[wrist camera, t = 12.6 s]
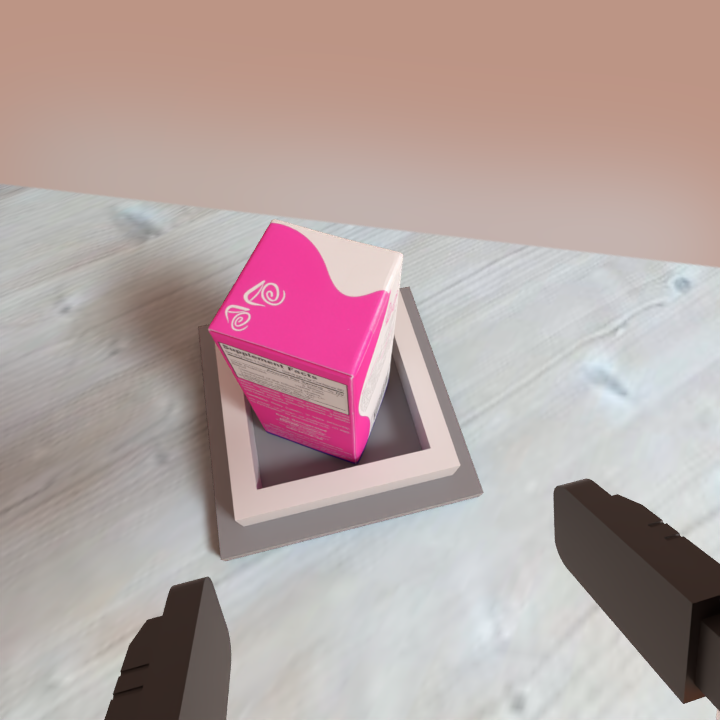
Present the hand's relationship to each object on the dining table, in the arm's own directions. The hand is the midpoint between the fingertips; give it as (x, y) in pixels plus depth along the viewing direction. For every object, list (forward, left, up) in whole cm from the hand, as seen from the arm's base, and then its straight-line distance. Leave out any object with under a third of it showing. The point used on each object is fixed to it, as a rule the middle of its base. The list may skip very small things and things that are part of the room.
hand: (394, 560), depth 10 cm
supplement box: (0, +10, -14) cm, 17 cm away
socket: (0, +10, -15) cm, 18 cm away
